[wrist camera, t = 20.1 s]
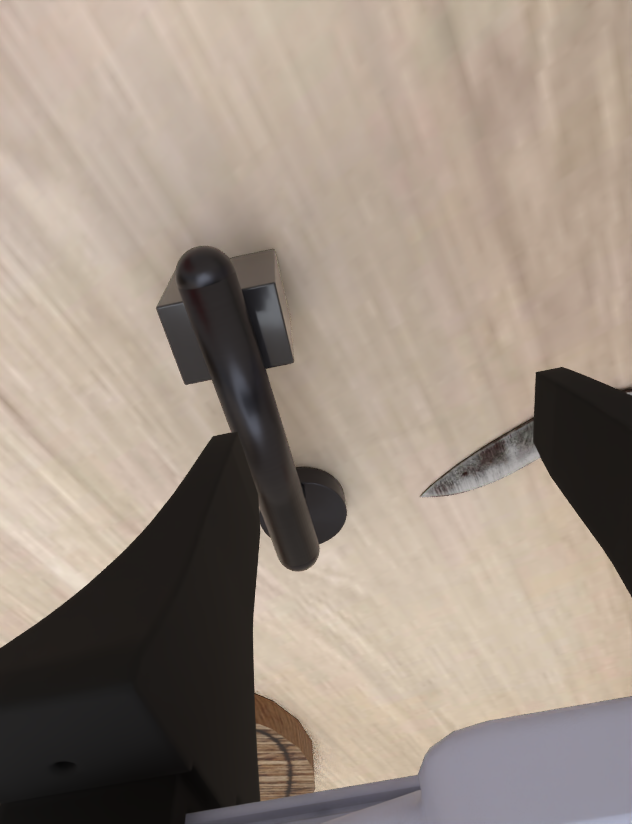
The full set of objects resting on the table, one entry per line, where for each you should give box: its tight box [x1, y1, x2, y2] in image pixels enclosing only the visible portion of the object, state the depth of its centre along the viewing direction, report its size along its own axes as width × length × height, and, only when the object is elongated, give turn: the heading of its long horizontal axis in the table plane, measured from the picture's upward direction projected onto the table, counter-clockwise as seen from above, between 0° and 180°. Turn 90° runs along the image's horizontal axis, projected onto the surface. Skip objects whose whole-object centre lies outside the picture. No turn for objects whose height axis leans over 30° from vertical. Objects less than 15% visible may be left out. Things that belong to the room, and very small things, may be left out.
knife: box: [421, 389, 632, 497], centre depth 26 cm, size 18×1×5 cm
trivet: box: [255, 694, 315, 801], centre depth 40 cm, size 25×25×2 cm
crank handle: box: [175, 246, 347, 571], centre depth 22 cm, size 17×4×6 cm, turn 12°
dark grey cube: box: [156, 249, 294, 385], centre depth 20 cm, size 3×4×4 cm
